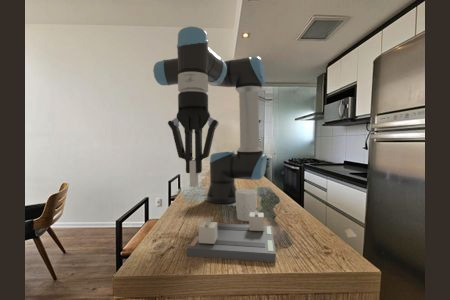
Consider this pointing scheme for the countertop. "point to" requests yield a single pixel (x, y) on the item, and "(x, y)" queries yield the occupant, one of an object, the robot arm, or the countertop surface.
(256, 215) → the block
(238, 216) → the white cup
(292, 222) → the countertop surface
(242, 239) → the switch panel
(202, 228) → the breaker
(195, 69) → the robot arm
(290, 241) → the countertop surface
